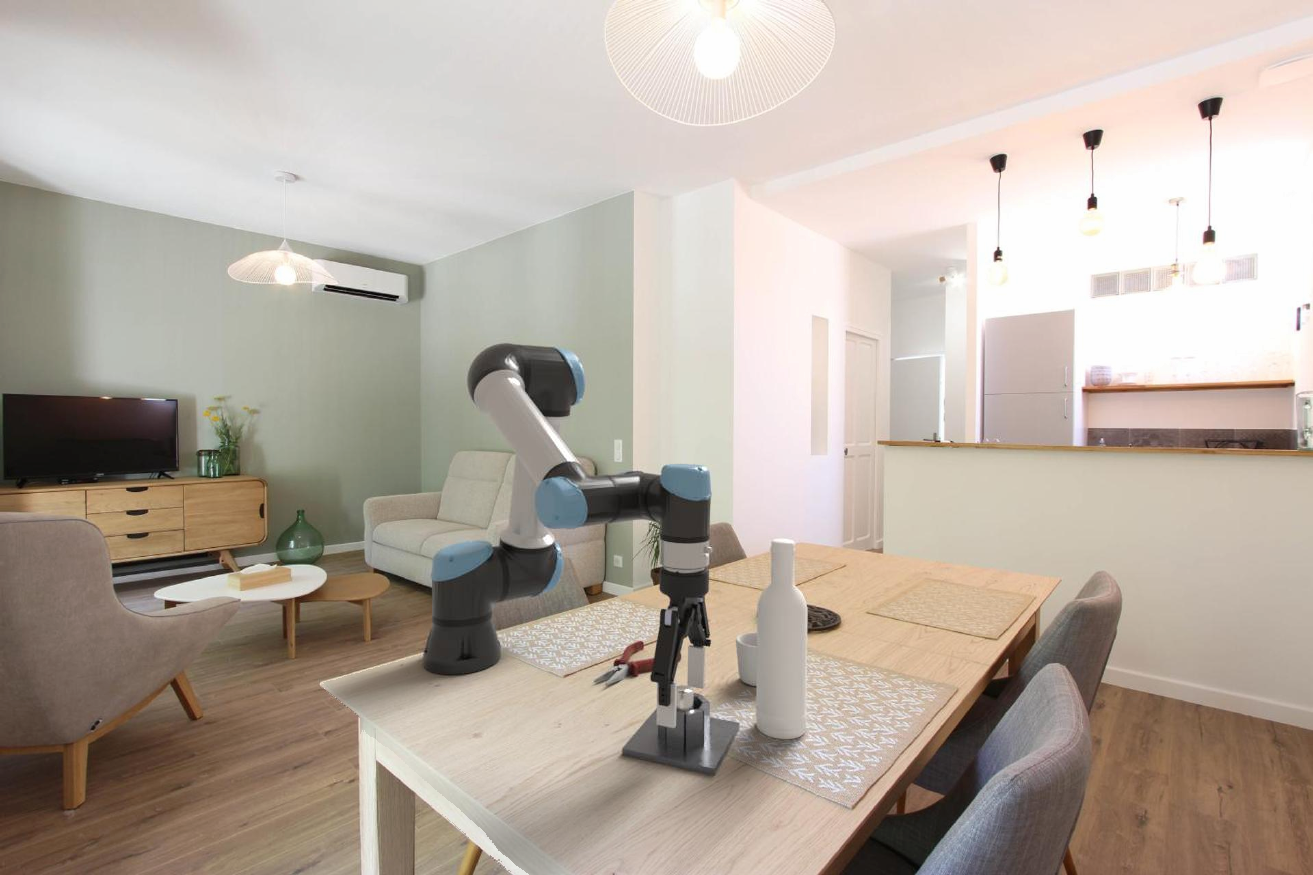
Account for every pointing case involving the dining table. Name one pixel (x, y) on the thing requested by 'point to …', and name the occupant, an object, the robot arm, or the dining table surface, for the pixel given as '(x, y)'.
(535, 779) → the dining table surface
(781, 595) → the bottle
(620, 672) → the pliers
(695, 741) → the ring
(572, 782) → the dining table surface
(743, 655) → the cup
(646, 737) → the piston jig
